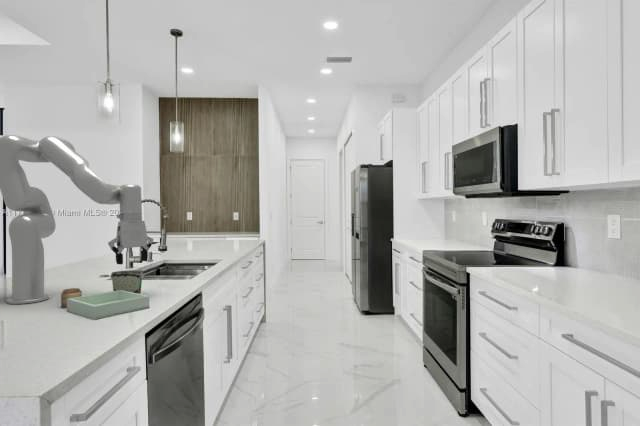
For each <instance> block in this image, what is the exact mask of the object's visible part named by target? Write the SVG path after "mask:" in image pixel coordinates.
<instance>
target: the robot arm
mask: <svg viewBox="0 0 640 426" xmlns="http://www.w3.org/2000/svg"><path fill="white" fill-rule="evenodd" d="M19 161H21V162H22V161H23V162H27V163H51V164H53V165H54V166H55V167H56V168H58V170H60V171H61V172H62V173H64V174H65V175H66V176H67V177H68V178H69V179H70V181H71V182H72V183H73V185H74V186H75V187H76V188H77V189H78V190H80V191H81V192H82V193H83V194H84V195H86V196H87V198H90V199H91V200H92V201H93V202H95V203H97V204H100V205H110V206H111V205H118V204H119V214H116V218H117V219H119V221H117V222H118V223H117V228H116V237H115V238H113V239H111V240H110V241H108V242H107V244H108V246H109V248H110V251H112V252H114V254H115V262H116V264H117V265H123V264H124V254H123V253H122V252H123V251H124V249H130V248H140V249H141V251H140V260H141V262H147V261H148V258H149V255H148V254H149V253H148V251H149V250H150V248H151V247H152V245H153V242H154V238H152V237H150V236H148V233H147V225H146V223H145V220H143V211H142V210H143V209H142V208H143V207H142V206H143V205H142V204H143V203H142V202H143V201H142V188H141V186H140V185H138V184H122V185H114V184H110V183H106V182H105V181H104V180H102V179H101V178H100V177H99V176H97V175H96V174H95V173H94V172H93V171H92V170H91V169H90V167H89V166H90V165H89V164H90V163H89V162H88V160H87V159H85V158H84V157H83V156H82V155H80V154H79V153H78V152H77V151H76V148H75V146H74V145H73V144H72V143H71V142H70V141H68V140H66V139H63V138H60V137H58V136H53V135H49V136H45V137H43V138H42V139H40V140H32V139H29V138H26V137H24V136H21V135H20V136H19V135H15V134H6V135H3V136H0V193H1V196H2V199H3V202H4V204H5V206H6V207H7V208H8V209H9V210H11V211H14V212H23V214H20V215H19V214H18V215H17V216H15V217H14V218H12V219H11V221H10V223H9V225H8V234H9V239H10V243H11V244H10V245H11V295H12V296H11V297H8V298H7V299H6V303H7V304H9V305H10V304H12V305H21V304H22V305H23V304H24V305H25V304H32V303H38V302H43V301H46V300H49V299H50V294H48V293H45V250H44V249H45V248H44V244H43V240H42V239H45V238H49V237H50V236H52V235H53V233H54V232H55V230H56V219H55V217H54V212H53V211H52V210H53V209H52V208H51V205H50V202H49V199H48V197H47V195H46V194H45V192H44V191H43V190H42V189H40V188H38V187H36V186H31V185H30V184H29V181H28V178H27V174H26V172H25V170H24V168H23V167H22V165H21V164H20V162H19ZM115 244H116V245H115Z"/></svg>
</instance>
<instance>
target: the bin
mask: <svg viewBox="0 0 640 426" xmlns="http://www.w3.org/2000/svg"><path fill="white" fill-rule="evenodd" d="M145 309H150V295H146V294H137V293H133V292H128V291H123V290H117V291H113V290H112V291H111V290H110V291H107V292H101V293H94V294H91V295H90V294H88V295H82V296H81V297H75V298H69V299H67V308H66V312H69V313H71V314H74V315H75V314H76V315H79V316H82V317H85V318H87V319H88V318H89V319H91V320H94V321H95V320H100V319H104V318H108V317H113V316H117V315H122V314H128V313H131V312H135V311H140V310H145Z"/></svg>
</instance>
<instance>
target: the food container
mask: <svg viewBox="0 0 640 426" xmlns="http://www.w3.org/2000/svg"><path fill="white" fill-rule="evenodd" d="M144 277H145V275H144V273H143V271H142V270H119V271H118V270H117V271H113V272H111V274H110V279H111V280H112V281H111V283H112V291H117V290H123V291H128V292H133V293H137V294H141V293H142V283H143V279H144Z"/></svg>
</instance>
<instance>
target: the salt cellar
mask: <svg viewBox="0 0 640 426" xmlns="http://www.w3.org/2000/svg"><path fill="white" fill-rule="evenodd" d="M82 292H83V291H82V290H80V288H79V287H78V288H77V287H75V288H74V287H72V288H65V289H63V291H61V293H60V308H61V309H67V299H69V298H75V297H81V296H83V294H82Z"/></svg>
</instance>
